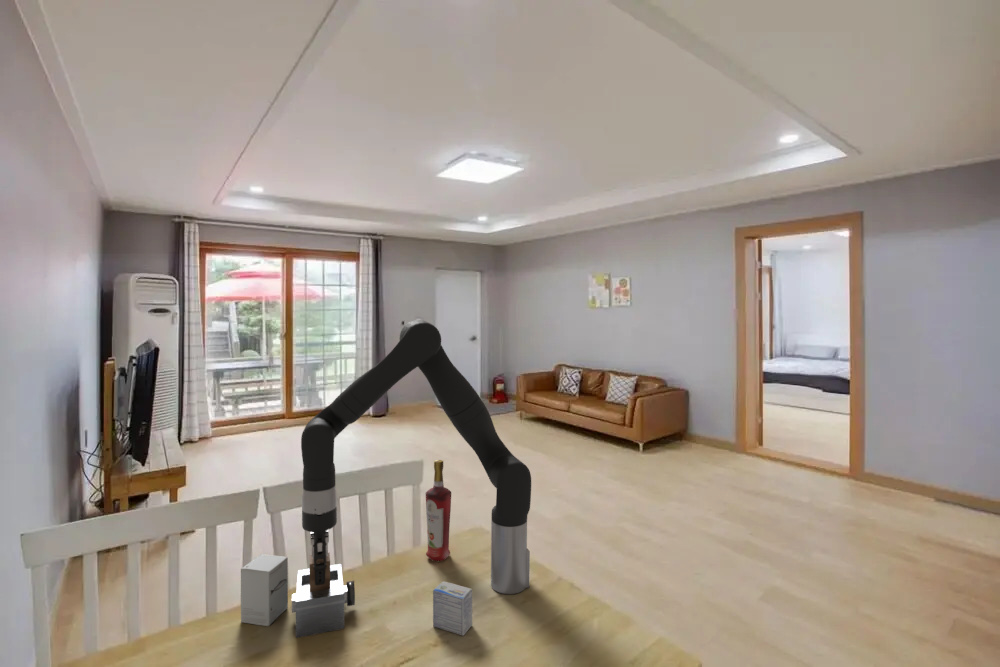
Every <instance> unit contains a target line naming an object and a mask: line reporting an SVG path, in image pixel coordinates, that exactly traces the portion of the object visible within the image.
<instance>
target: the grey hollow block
mask: <svg viewBox="0 0 1000 667" xmlns="http://www.w3.org/2000/svg"><path fill="white" fill-rule="evenodd" d="M343 577H344V576H343V568H342V563H337V564H330V589H326V590H320V591H314V592H310V567H309V568H303V569H298V570H297V578H296V591H295V594H296V612H295V638H296V639H298V638H303V637H308V636H311V635H312V636H313V635H318V634H323V633H327V632H328V633H329V632H333V631H338V630H339V631H340V630H344V629H345V604H344V587H343V586H344V579H343Z"/></svg>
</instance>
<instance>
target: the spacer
mask: <svg viewBox="0 0 1000 667" xmlns="http://www.w3.org/2000/svg"><path fill="white" fill-rule="evenodd" d="M330 554H331V553H330V552H328V556H327V557H326V565H327V567H326V569H325V584H322V585H315V571H314V569H313V565H314V559H313V558H312V554H310V555H309V568H310V592H314V591H320V590H326V589H330V565H331V555H330ZM322 562H323V559H318V560H317V561H316V564H317V563H322Z"/></svg>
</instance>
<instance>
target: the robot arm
mask: <svg viewBox="0 0 1000 667" xmlns="http://www.w3.org/2000/svg"><path fill="white" fill-rule="evenodd" d="M441 335H442V334H441V333H440V330H439V329H438V328H437V326H435V325H434V324H432V323H430V322H427V321H426V320H422V319H415V320H411V321H409V322H407V323H406V324H404V326H402V328H401V331H400V333H399V341H398V342H397V344H396V345H395V346H394V347H393V348H392V349H391V351H390V352H389V353H388V354H387V355H386V356H385V357H384V358H383V359H382V360H380V361H379V362H378V363H377V364H376V365H375V366H372V368H370V369H369V370H368V371H366V372H364V373H363V374H361V376H359V377H358V378H356V380H354V381H353V382H352V383H351V384H350V385H349V386H347V388H345V389H343V391H342V392H341V393H340V394H339V395H338V396H336V398H335V399H334V400H333V401H332V402H331V403H330V404H329V405H327V406H326V407H324V409H323V410H321V411H320V412H319V413H317V414H316V415H315V416H314V417H312V419H311V420H310V421H308V422H307V424H306V425H305V427H304V429H303V431H302V433H301V439H300V440H301V441H300V445H301V446H300V448H301V450H300V451H301V457H302V464H303V465H302V466H303V469H302V470H303V471H302V495H301V528H302V529H303V530H304V531H306V532H310V546H311V555H312V558H313V559H314V565H313V569H314V571H315V585H322V584H325V569H326V567H327V565H326V557H327V556H328V553H329V543H330V535H329V532H330V531H329V530H331V529H332V528H334V527H335V526H336V525H337V522H338V516H337V514H338V513H337V510H338V508H337V504H338V502H337V501H338V500H337V496H338V493H337V488H336V466H335V462H334V455H335V438H337V437H338V435H339V434H340V433H341V432H342V431H344V430H345V429H346V428H347V427H348V426H349V425H352V424H353V423H355V422H356V421H358V420H359V419H360V418H361V417H362V416H363V415H364V414H366V412H367V411H369V409H371V408H372V406H374V405H375V404H377V402H378V401H379V400H380V399H381V398H382V397H383V396H385V395H386V393H387V392H388V391H389V390H391V388H393V386H395V385H396V384H397V383H398V382H399V381H401V380H402V379H403V378H404V377H406V376H407V375H409V373H411V372H412V371H413V370H415V369H417V368H418V370H420V372H422V374H423V375H424V377H425V378H426V379H427V382H428V383H429V385H430V387H431V389H432V391H433V393H434V396H435V397H436V399H437V400H438V403H439V404H440V406H441V408H442V410H443V412H444V413H445V415H446V416H447V417H448V419H449V420H450V422H451V424H452V425H453V427H454V428H455V429H456V430H457V432H458V434H460V436H461V437H462V439H463V440H465V442H466V443H467V444H468V445H469V446H470V448H472V450H473V451H474V452H475V454H476V456H477V458H478V459H479V462H481V466H483V469H484V470H485V473H486V474H487V477H488V479H489V481H490V483H491V484H492V486H494V488H495V489H496V499H495V500H496V502H495V505H494V506H493V507H492V509H491V527H490V528H491V530H490V531H491V533H490V534H491V538H490V540H491V541H490V542H491V545H490V547H491V548H490V587H491V588H492V589H493V590H494V591H495V592H498V593H500V594H503V595H514V594H519V593H522V592H523V591H524V590H526V589H529V588H530V568H531V567H530V565H531V564H530V563H531V562H530V561H531V560H530V557H531V553H530V550H529V549H528V515H529V513H530V510H531V500H532V498H531V497H532V474H531V471H530V469H529V467H528V466H527V465H526V464H525V463H523V461H521V460H520V459H519V458H517V457H516V456H515V455H514V454H513V453H512V452H511V451H510V450H509V449H508V447H507V446H506V445H505V443H504V442H503V441H502V439H501V438H500V436H499V434H498V433H497V431H496V427H495V425H494V422H493V419H492V417H491V413H489V410H488V408H487V406H486V405H485V403H484V401H483V400H482V398H481V397H480V395H479V394H478V393H477V391H476V390H475V388H474V387H473V386H472V384H471V383H470V382H469V380H467V378H466V377H465V376H464V375H463V374H462V372H460V371H459V369H458V368H456V366H455V364H453V363H452V361H451V360H450V358H449V356H448V354H447V353H446V351H445V349H444V347H443V346H442V336H441ZM318 559H323V562H322V563H317V564H316V561H317V560H318Z"/></svg>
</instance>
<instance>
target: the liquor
mask: <svg viewBox="0 0 1000 667" xmlns="http://www.w3.org/2000/svg"><path fill="white" fill-rule="evenodd" d="M433 470H434V476H433V487H431V488H429V489H428V490H427V491H425V512H426V514H425V515H426V533H427V535H426V536H427V537H426V538H427V551H426V553H425V555H426V557H428V558H429V560H431V561H432V560H433V562H436V561H439V562H444V561H445V560H446V559H447V558H448V557H449V556H450V555H451V550H450V548H449V547H450V524H451V510H452V509H451V507H452V491H451V490H450V489H449V488H447V487H444V485H445V484H444V476H443V475H444V474H443V473H444V472H443V470H444V460H442V459H436V460H434V461H433Z"/></svg>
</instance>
